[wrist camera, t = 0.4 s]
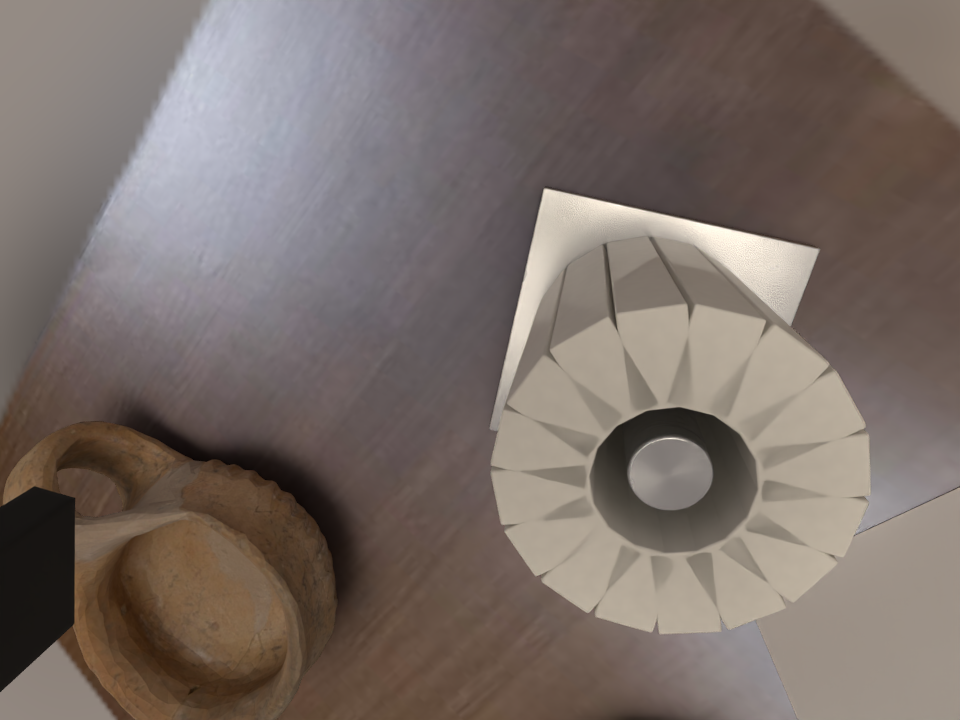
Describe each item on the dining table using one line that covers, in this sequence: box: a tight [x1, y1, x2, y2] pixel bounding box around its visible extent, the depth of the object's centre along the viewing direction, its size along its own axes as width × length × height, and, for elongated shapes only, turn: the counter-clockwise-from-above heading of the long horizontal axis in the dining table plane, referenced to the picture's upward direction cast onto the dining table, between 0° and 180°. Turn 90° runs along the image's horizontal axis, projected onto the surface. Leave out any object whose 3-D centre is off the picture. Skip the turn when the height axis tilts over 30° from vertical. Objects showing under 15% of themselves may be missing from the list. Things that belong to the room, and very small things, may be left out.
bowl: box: [3, 421, 338, 720], centre depth 34 cm, size 18×14×10 cm
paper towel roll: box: [490, 236, 871, 634], centre depth 24 cm, size 10×10×13 cm
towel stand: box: [489, 186, 820, 511], centre depth 25 cm, size 12×12×14 cm
